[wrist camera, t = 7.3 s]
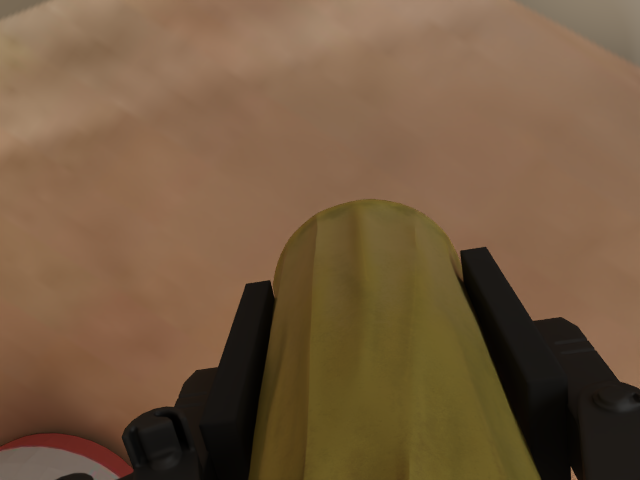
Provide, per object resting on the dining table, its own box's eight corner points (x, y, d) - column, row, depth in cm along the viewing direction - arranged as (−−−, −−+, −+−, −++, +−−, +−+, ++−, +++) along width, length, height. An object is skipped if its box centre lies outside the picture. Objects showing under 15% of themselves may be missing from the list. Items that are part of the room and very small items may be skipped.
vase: (379, 156, 17) (512, 610, 4) (499, 294, 19) (875, 944, 6) (236, 278, 19) (5, 884, 6) (358, 395, 21) (395, 1086, 7)
